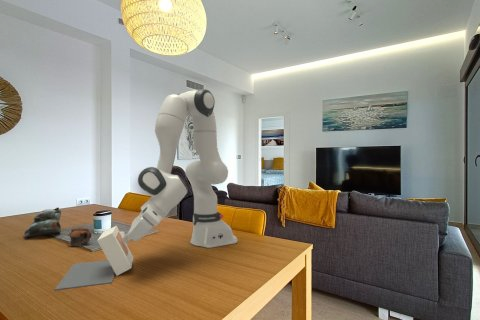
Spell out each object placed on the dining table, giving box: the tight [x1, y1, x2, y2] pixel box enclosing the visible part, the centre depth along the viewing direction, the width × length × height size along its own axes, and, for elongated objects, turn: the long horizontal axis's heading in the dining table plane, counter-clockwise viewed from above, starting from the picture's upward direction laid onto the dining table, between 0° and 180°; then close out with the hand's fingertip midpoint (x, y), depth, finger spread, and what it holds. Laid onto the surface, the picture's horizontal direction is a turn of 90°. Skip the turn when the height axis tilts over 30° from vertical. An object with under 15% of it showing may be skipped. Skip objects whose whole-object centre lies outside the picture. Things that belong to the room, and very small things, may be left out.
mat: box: [54, 259, 116, 291], centre depth 90 cm, size 16×20×1 cm
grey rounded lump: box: [22, 207, 62, 239], centre depth 134 cm, size 17×14×16 cm
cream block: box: [97, 225, 134, 277], centre depth 93 cm, size 5×10×14 cm, turn 18°
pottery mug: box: [67, 227, 92, 248], centre depth 121 cm, size 12×10×8 cm
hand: (123, 241), depth 93 cm, fingers closed
